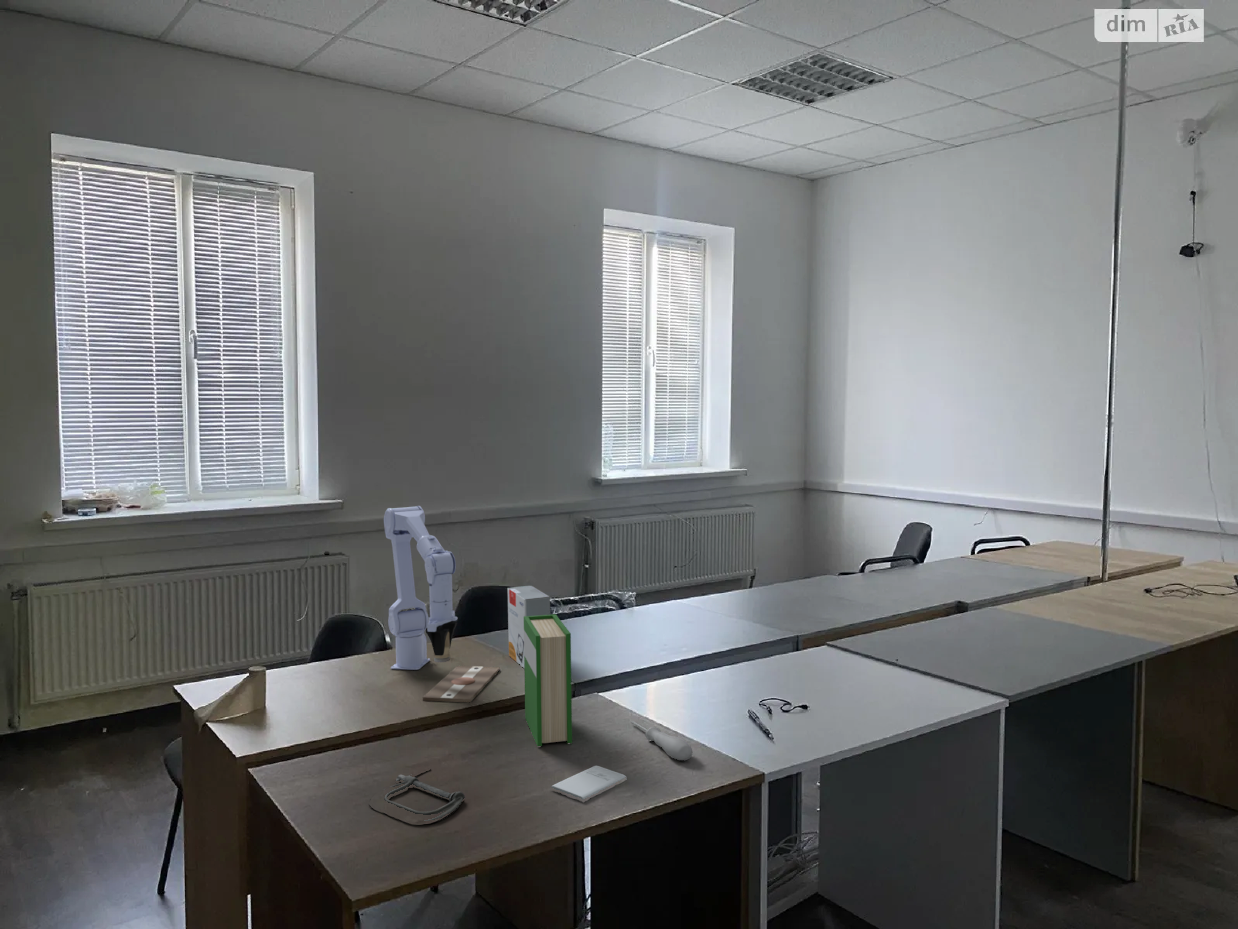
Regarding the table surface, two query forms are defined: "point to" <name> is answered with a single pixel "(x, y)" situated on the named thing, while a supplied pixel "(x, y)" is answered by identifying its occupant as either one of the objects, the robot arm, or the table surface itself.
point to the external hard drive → (588, 782)
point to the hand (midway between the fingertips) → (442, 652)
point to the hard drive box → (521, 605)
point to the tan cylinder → (446, 655)
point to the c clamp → (454, 798)
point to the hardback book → (547, 679)
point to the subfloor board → (461, 684)
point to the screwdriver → (668, 743)
